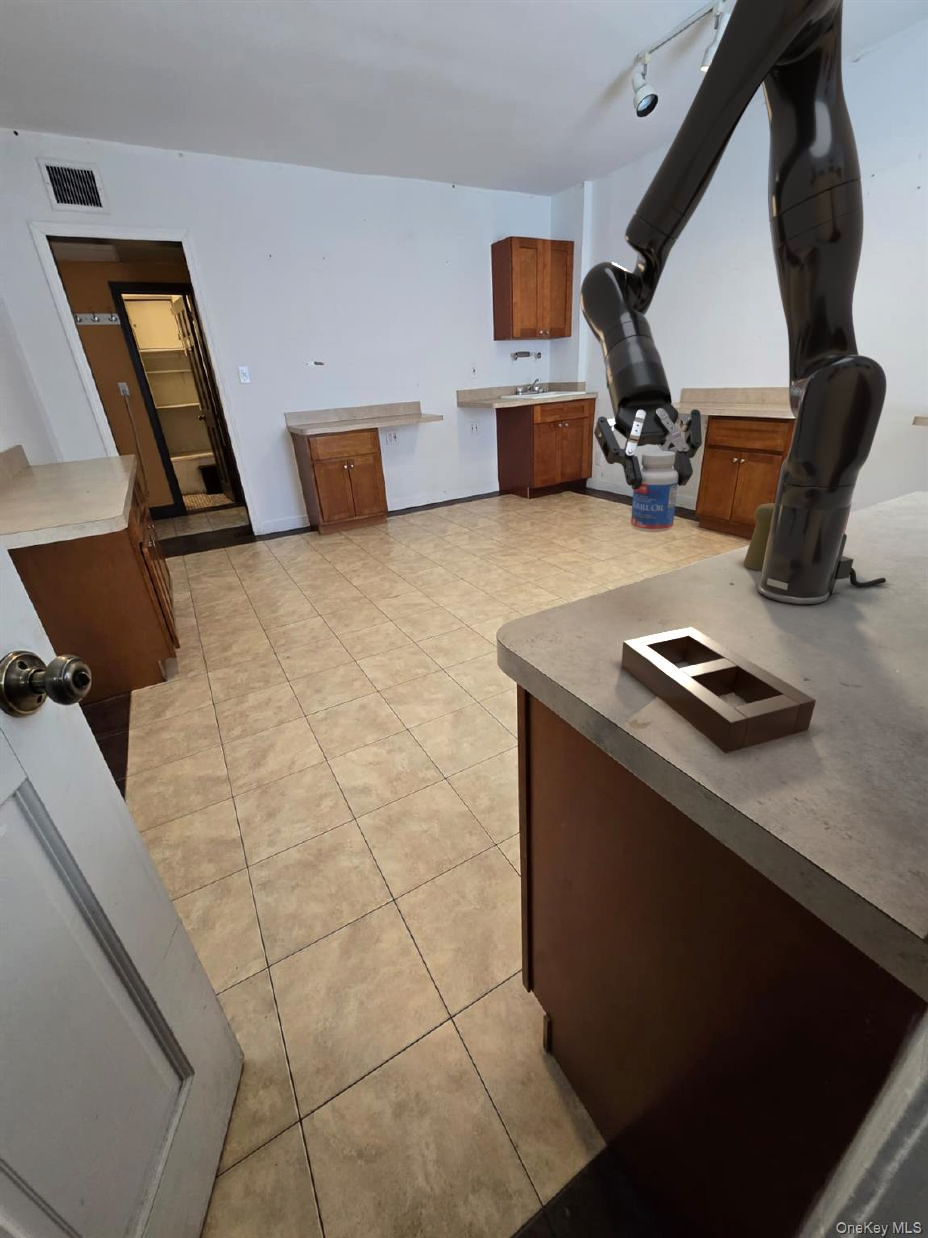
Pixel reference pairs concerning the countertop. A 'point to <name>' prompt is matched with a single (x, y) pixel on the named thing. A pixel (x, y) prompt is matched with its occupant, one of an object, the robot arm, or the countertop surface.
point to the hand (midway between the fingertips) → (661, 483)
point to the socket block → (717, 689)
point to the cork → (759, 537)
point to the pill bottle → (655, 493)
